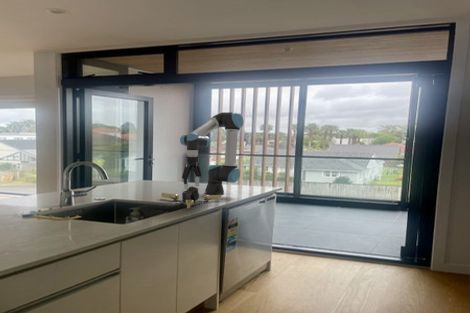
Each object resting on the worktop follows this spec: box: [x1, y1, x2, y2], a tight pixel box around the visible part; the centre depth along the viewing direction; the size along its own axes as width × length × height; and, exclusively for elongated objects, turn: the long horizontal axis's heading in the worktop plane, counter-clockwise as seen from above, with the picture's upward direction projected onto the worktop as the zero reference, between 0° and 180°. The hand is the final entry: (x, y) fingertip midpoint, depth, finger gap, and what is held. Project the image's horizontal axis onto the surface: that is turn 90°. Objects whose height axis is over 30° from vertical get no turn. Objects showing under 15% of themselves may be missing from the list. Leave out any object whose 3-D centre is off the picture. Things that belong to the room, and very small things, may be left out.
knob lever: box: [161, 192, 180, 200], centre depth 252 cm, size 14×5×4 cm, turn 64°
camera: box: [181, 185, 200, 202], centre depth 244 cm, size 13×10×10 cm
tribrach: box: [174, 194, 223, 209], centre depth 244 cm, size 42×27×4 cm, turn 154°
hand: (191, 187), depth 244 cm, fingers open, 13 cm apart
